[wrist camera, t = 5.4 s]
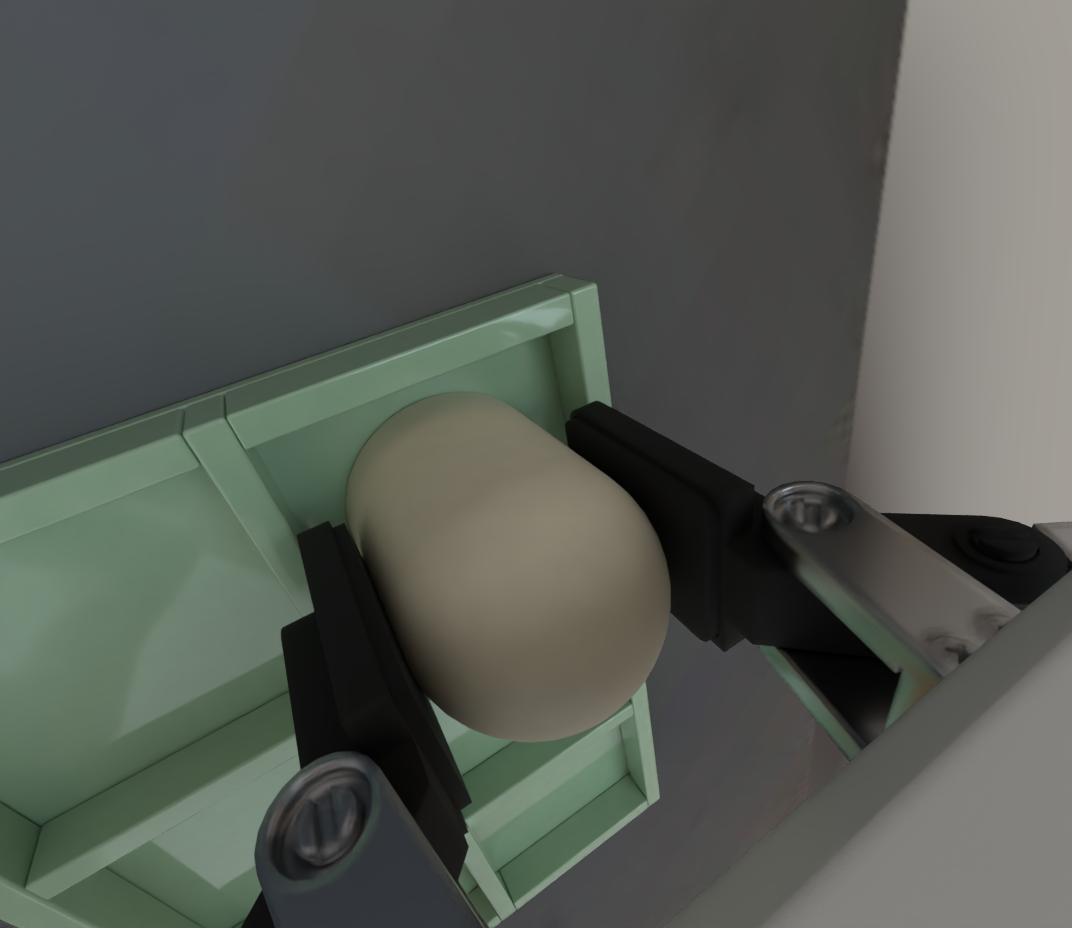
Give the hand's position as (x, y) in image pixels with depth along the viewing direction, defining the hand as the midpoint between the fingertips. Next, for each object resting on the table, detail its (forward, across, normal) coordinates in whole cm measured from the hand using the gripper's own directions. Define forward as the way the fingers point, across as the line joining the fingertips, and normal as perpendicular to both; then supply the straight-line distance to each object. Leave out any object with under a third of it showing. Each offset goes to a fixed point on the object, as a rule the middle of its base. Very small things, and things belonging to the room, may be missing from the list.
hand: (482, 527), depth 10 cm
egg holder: (+2, +3, +6) cm, 8 cm away
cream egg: (+2, 0, 0) cm, 2 cm away
